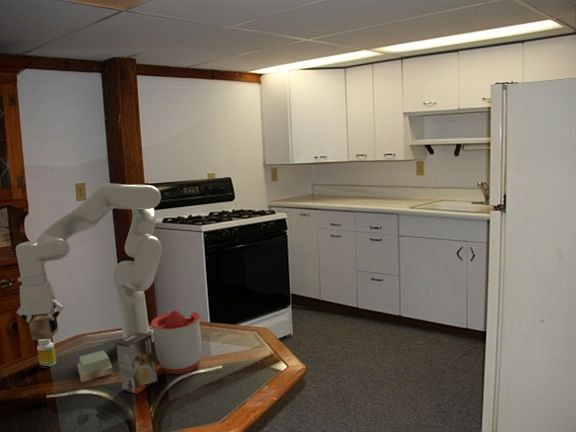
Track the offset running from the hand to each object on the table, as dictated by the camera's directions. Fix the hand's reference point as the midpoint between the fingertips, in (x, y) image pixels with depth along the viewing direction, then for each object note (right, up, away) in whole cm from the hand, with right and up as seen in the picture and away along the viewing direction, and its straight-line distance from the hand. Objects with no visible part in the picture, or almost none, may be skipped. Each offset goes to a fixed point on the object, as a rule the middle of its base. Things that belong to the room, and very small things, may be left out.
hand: (44, 330), depth 180 cm
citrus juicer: (+45, -12, +2) cm, 47 cm away
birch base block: (+16, -15, +2) cm, 22 cm away
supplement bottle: (-4, -14, +11) cm, 19 cm away
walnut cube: (0, -2, 0) cm, 2 cm away
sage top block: (+16, -12, +2) cm, 20 cm away
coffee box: (+34, -15, -10) cm, 39 cm away
